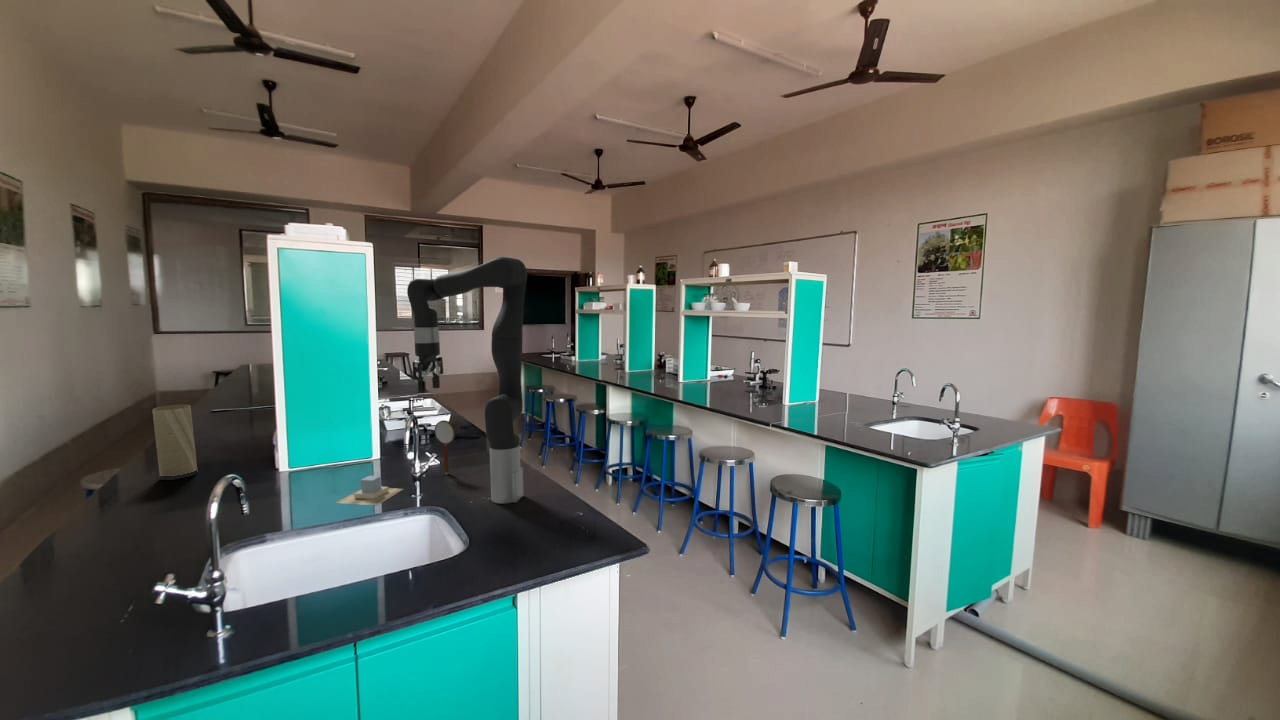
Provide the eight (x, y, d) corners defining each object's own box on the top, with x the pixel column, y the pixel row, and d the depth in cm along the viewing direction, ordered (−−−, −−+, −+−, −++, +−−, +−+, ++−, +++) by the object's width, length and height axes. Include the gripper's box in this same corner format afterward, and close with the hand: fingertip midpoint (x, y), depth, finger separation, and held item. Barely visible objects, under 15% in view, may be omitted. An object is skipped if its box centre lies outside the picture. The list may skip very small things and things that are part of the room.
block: (381, 488, 167) (380, 476, 167) (373, 492, 163) (372, 480, 163) (370, 487, 168) (369, 475, 168) (361, 492, 164) (360, 479, 164)
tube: (152, 480, 180) (143, 410, 177) (178, 471, 190) (171, 404, 187) (179, 481, 179) (172, 410, 177) (204, 471, 189) (198, 404, 186)
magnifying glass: (458, 475, 185) (456, 420, 183) (455, 476, 184) (452, 421, 181) (438, 472, 188) (436, 419, 186) (435, 474, 187) (432, 420, 184)
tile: (388, 486, 169) (374, 494, 162) (388, 491, 169) (374, 499, 162) (368, 485, 170) (354, 493, 163) (369, 490, 170) (354, 498, 163)
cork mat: (403, 490, 171) (403, 488, 171) (376, 506, 157) (376, 505, 157) (365, 487, 173) (365, 486, 173) (335, 504, 159) (334, 503, 159)
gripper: (425, 343, 161) (428, 394, 162) (448, 339, 175) (451, 386, 176) (403, 342, 162) (406, 393, 164) (428, 339, 176) (430, 386, 178)
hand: (429, 390), depth 170 cm, fingers open, 8 cm apart
